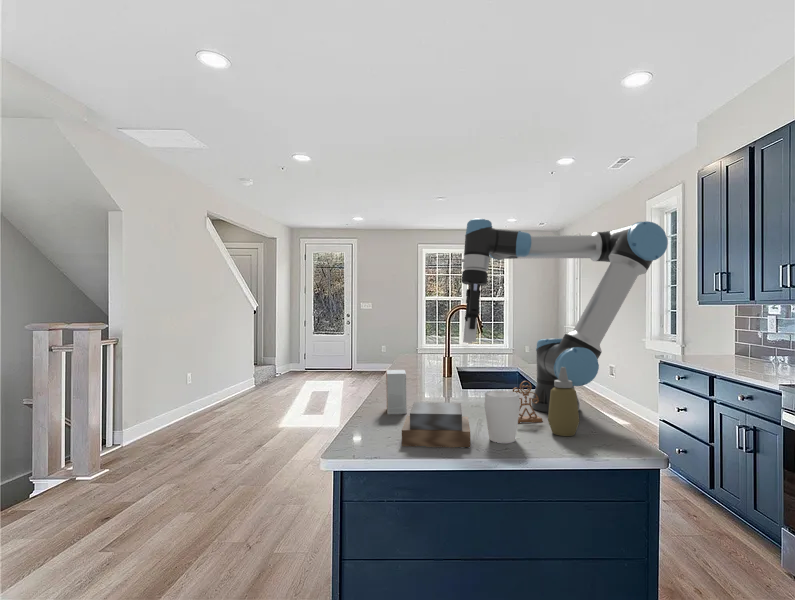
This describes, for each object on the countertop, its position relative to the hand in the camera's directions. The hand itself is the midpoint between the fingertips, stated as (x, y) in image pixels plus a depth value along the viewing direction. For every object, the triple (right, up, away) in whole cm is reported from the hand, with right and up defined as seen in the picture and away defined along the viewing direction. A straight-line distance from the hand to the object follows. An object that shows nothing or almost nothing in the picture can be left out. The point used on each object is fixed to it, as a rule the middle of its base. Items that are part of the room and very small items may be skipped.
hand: (469, 342), depth 143 cm
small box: (-21, -24, +16) cm, 36 cm away
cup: (+6, -24, -16) cm, 30 cm away
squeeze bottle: (+24, -24, -11) cm, 36 cm away
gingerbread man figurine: (+17, -24, +2) cm, 30 cm away
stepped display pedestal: (-11, -24, -15) cm, 30 cm away
